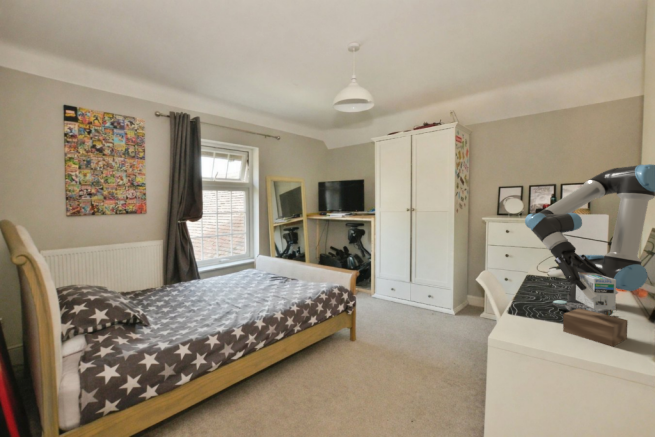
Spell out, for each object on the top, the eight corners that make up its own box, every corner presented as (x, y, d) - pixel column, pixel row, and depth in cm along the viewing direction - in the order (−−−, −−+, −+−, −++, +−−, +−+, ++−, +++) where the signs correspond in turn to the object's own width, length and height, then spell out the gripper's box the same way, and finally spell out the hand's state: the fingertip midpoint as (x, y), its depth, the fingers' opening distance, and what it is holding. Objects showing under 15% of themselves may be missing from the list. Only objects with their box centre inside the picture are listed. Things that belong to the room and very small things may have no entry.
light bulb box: (616, 310, 102) (617, 279, 102) (593, 309, 103) (594, 278, 103) (594, 300, 112) (595, 272, 112) (574, 299, 114) (575, 271, 113)
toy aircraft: (556, 304, 142) (556, 293, 142) (614, 315, 127) (615, 303, 127) (547, 313, 131) (548, 301, 131) (610, 326, 116) (610, 312, 116)
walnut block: (578, 325, 117) (579, 308, 117) (626, 339, 105) (627, 320, 105) (563, 332, 112) (563, 313, 111) (612, 347, 99) (612, 326, 99)
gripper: (572, 250, 125) (616, 298, 111) (531, 253, 119) (572, 304, 104) (586, 239, 120) (635, 287, 105) (544, 241, 113) (590, 293, 99)
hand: (604, 296), depth 105 cm, fingers closed on light bulb box, 10 cm apart
